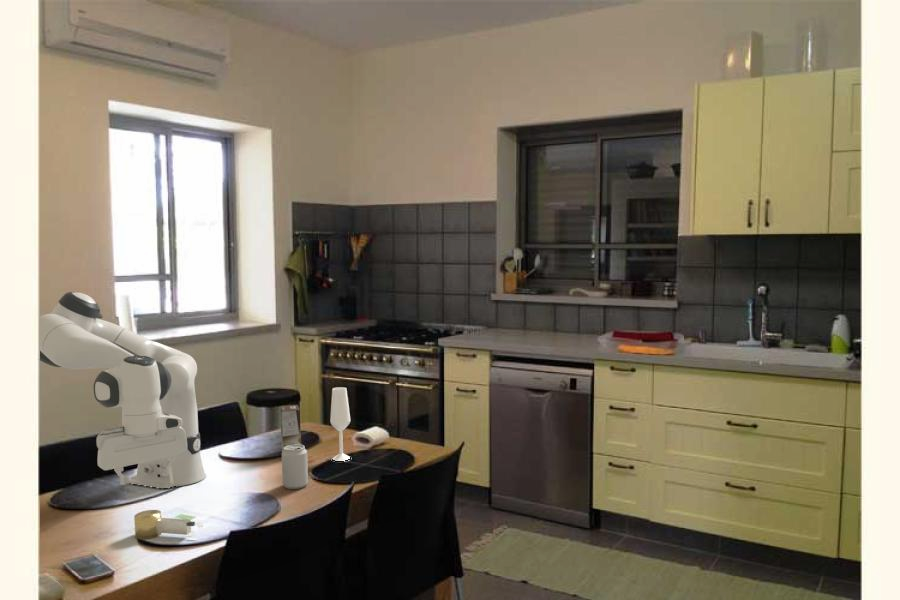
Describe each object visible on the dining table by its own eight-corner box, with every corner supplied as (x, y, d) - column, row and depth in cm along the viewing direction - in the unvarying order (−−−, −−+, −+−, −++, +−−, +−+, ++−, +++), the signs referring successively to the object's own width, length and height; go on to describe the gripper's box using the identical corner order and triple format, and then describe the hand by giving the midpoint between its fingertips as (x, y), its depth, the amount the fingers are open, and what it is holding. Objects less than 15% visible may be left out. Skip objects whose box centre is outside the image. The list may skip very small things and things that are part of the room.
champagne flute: (337, 455, 238) (335, 386, 237) (355, 457, 236) (353, 387, 234) (327, 460, 232) (325, 390, 230) (345, 462, 230) (343, 391, 228)
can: (302, 490, 203) (300, 450, 202) (278, 489, 204) (276, 449, 204) (312, 482, 210) (310, 443, 209) (289, 481, 212) (287, 442, 211)
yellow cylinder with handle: (129, 538, 167) (128, 518, 166) (145, 528, 173) (144, 509, 172) (187, 542, 164) (186, 522, 163) (201, 532, 170) (200, 512, 169)
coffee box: (301, 455, 238) (300, 409, 237) (282, 457, 237) (281, 411, 235) (299, 448, 247) (298, 404, 246) (281, 450, 245) (279, 405, 244)
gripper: (100, 433, 158) (103, 493, 159) (188, 418, 172) (191, 472, 173) (91, 429, 162) (94, 486, 163) (178, 414, 176) (181, 467, 177)
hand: (145, 479), depth 168 cm, fingers open, 8 cm apart
